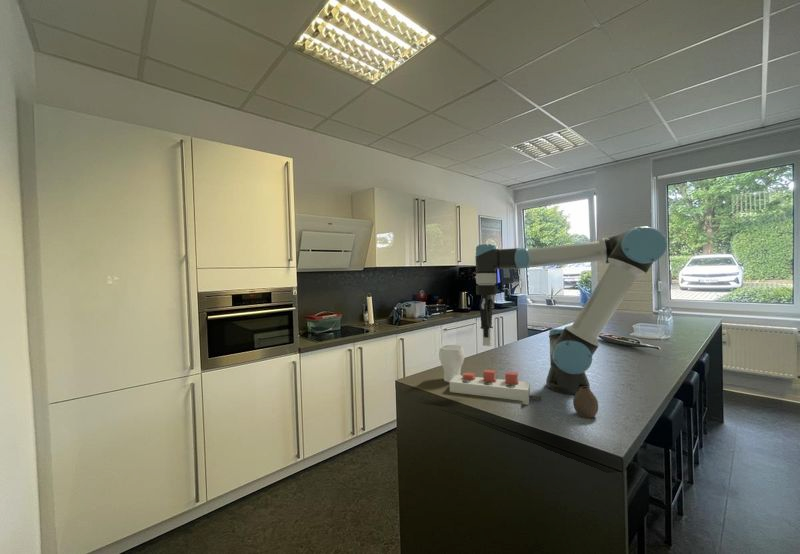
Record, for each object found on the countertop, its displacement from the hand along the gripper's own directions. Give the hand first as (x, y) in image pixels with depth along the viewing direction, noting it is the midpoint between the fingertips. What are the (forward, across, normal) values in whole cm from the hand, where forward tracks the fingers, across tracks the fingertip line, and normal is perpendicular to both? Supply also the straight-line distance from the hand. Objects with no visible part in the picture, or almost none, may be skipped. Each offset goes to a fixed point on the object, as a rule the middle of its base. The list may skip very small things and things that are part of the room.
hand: (486, 345), depth 124 cm
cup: (+19, -6, -16) cm, 25 cm away
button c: (+15, +2, -7) cm, 17 cm away
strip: (+18, +3, +3) cm, 19 cm away
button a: (+13, +1, +9) cm, 16 cm away
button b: (+13, +1, +1) cm, 13 cm away
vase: (+18, +9, +33) cm, 38 cm away
